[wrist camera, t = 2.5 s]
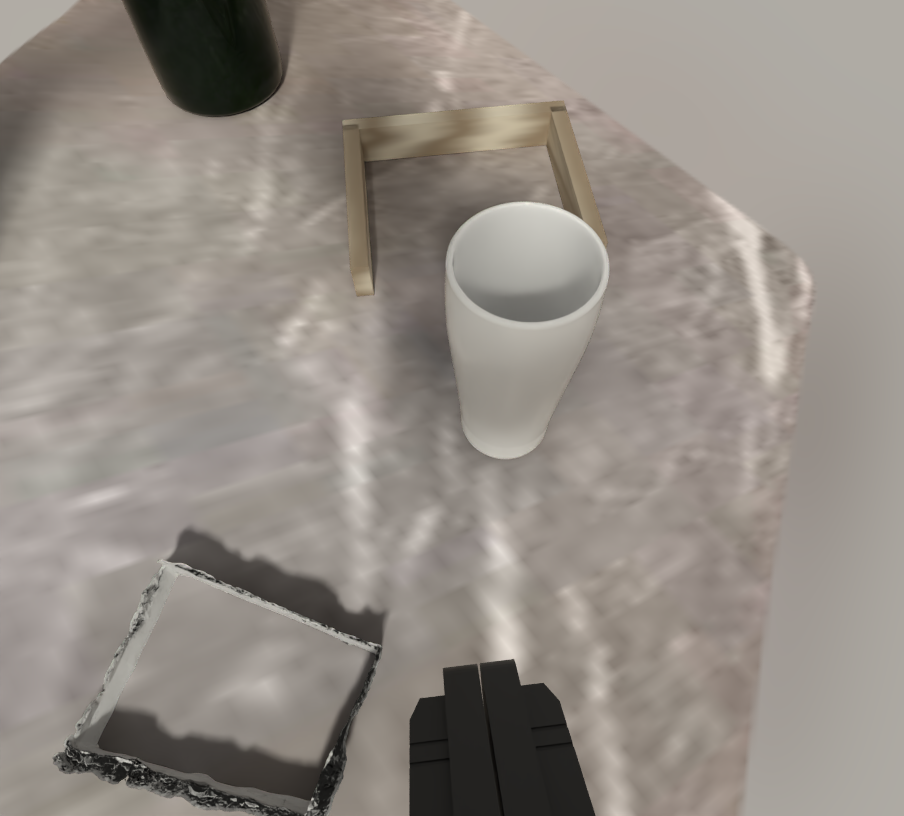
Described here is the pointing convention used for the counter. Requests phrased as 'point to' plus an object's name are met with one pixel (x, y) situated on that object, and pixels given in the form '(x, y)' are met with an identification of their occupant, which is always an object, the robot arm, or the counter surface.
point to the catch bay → (459, 136)
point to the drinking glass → (519, 318)
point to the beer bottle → (209, 52)
